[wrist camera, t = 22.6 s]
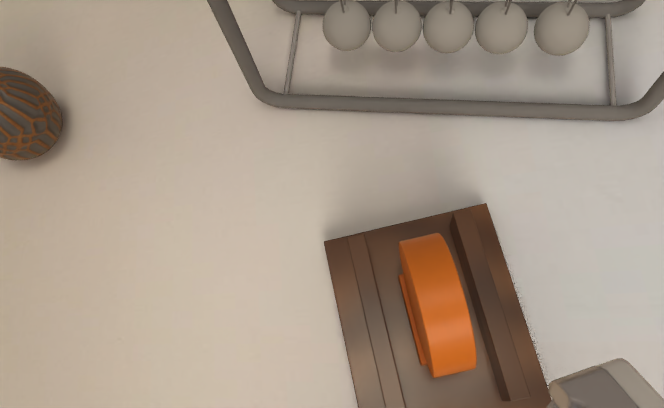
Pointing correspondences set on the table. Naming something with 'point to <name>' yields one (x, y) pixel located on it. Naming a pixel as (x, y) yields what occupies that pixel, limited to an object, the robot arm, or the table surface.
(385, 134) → the table surface
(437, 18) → the newton's cradle
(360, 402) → the rack
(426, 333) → the disc
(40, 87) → the vase
